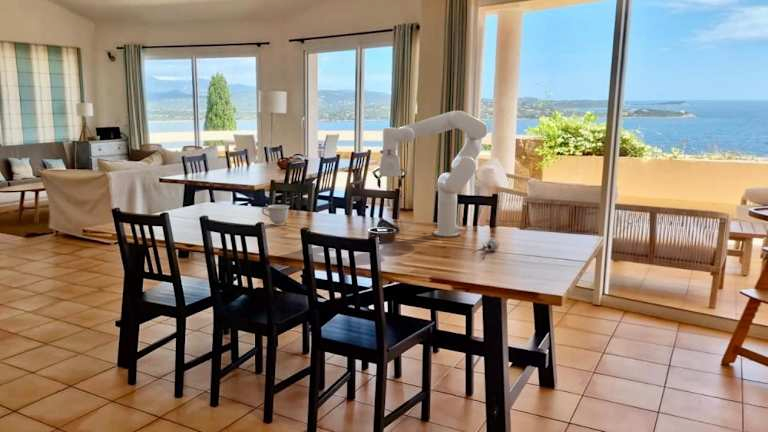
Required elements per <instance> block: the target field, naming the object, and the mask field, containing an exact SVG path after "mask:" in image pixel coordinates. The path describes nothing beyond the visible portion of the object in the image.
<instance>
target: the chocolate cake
mask: <svg viewBox="0 0 768 432" xmlns="http://www.w3.org/2000/svg"><path fill="white" fill-rule="evenodd" d="M378 227H384V228H392V229H395V230H396V234H399V233H400V231H401V229H400V227H399V226H397V225H394V224H393V223H392V222H390V221H388V220H387V219H384V218H382V217H380V218H379V221H378V222H377V224H376V228H378Z"/></svg>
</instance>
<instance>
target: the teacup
mask: <svg viewBox="0 0 768 432" xmlns="http://www.w3.org/2000/svg"><path fill="white" fill-rule="evenodd" d="M289 208H290V205H288V204H269V205H267V206H263V207H262V208H261V213H262V215H264V216H267V217H268V218H269V219H270V222H272V223H273V225H274V226H284V225H285V222H286V221H287V220H288V215H289ZM264 210H266V212H268V213H265V211H264Z"/></svg>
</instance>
